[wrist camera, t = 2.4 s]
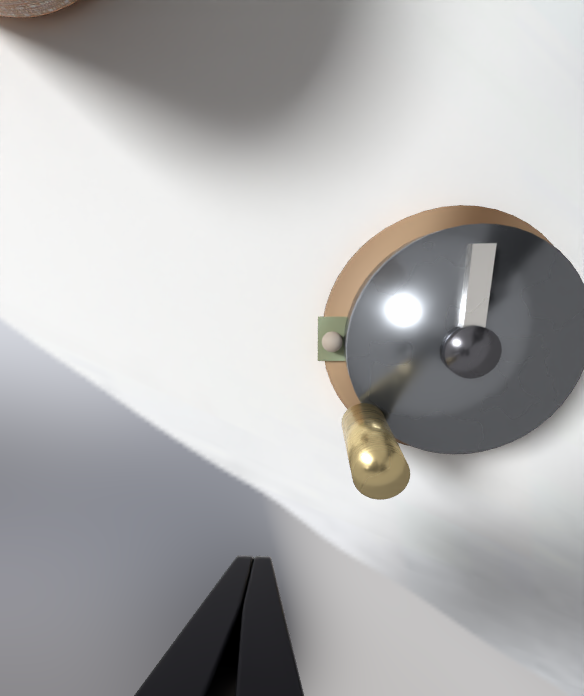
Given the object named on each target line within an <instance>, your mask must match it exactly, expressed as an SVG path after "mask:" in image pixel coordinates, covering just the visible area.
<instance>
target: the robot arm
mask: <svg viewBox="0 0 584 696" xmlns="http://www.w3.org/2000/svg"><path fill="white" fill-rule="evenodd" d="M134 696H304V693H303V689H302V685H301V681H300V677H299V672H298V668H297V664H296V660H295V655H294V651H293V647H292V643H291V639H290V634H289V630H288V626H287V622H286V618H285V614H284V609H283V605H282V601H281V597H280V593H279V589H278V584H277V580H276V576H275V572H274V568H273V563H272V559H271V557H269V556H256V557H255V558H254V557H253V556H241V555H240V556H237V557H236V559H235V560H234V561H233V563H232V564H231V565H230V567H229V568H228V569H227V571H226V572H225V573H224V575H223V576H222V577H221V579H220V580H219V581H218V583H217V584H216V585H215V587H214V588H213V590H212V591H211V592H210V594H209V595H208V596H207V598H206V599H205V600H204V602H203V603H202V604H201V606H200V607H199V609H198V610H197V611H196V613H195V614H194V615H193V617H192V618H191V619H190V621H189V622H188V623H187V625H186V626H185V627H184V629H183V630H182V632H181V633H180V634H179V636H178V637H177V638H176V640H175V641H174V642H173V644H172V645H171V646H170V648H169V649H168V651H167V652H166V653H165V655H164V656H163V657H162V659H161V660H160V661H159V663H158V664H157V665H156V667H155V668H154V670H153V671H152V672H151V674H150V675H149V677H148V678H147V679H146V680H145V682H144V683H143V684H142V686H141V687H140V689H139V690H138V691H137V693H136V694H135V695H134Z"/></svg>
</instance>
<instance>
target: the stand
mask: <svg viewBox="0 0 584 696" xmlns="http://www.w3.org/2000/svg"><path fill="white" fill-rule="evenodd" d="M480 223H484V224H500V225H506V226H511V227H516V228H519V229H522V230H524V231H527V232H530V233H533V234H534V235H536V236H538V237H540V238H542V239H544V240H546V241H547V242H549V241H548V240H547V238H546V237H545V236H544V235H543V234H542V233H540V232H539V231H538V230H536V229H535V228H534V227H532V226H531V225H530V224H528V223H526V222H524V221H523V220H521V219H519V218H517V217H515V216H513V215H510V214H507V213H505V212H502V211H499V210H496V209H491V208H485V207H480V206H463V205H459V206H448V207H440V208H436V209H431V210H427V211H423V212H420V213H418V214H415V215H412V216H409V217H407V218H405V219H403V220H401V221H399V222H397V223H395V224H393V225H391V226H389V227H387V228H385V229H384V230H382V231H381V232H380V233H378V234H377V235H375V236H374V237H372V238H371V239H370V240H369V241H368V242H367V243H365V244H364V245H363V246H362V247H361V248H360V249H359V250H358V251H357V252H356V253H355V254H354V256H353V257H352V258H351V259H350V260H349V261H348V262H347V264H346V265H345V267H344V268H343V270H342V271H341V273H340V274H339V276H338V278H337V280H336V282H335V284H334V286H333V288H332V290H331V292H330V295H329V298H328V301H327V304H326V308H325V312H324V317H318V361H325V365H326V370H327V372H328V375H329V378H330V381H331V384H332V385H333V387H334V389H335V391H336V393H337V395H338V397H339V398H340V400H341V401H342V403H343V404H344V405H345V407H346V408H347V409H349V408H350V407H352V406H354V405H356V404H361V403H360V401H359V399H358V397H357V395H356V393H355V391H354V388H353V385H352V383H351V380H350V377H349V374H348V371H347V368H346V363H345V357H344V342H343V341H344V330H345V324H346V320H347V316H348V312H349V310H350V307H351V304H352V302H353V299H354V297H355V296H356V294H357V292H358V290H359V288H360V286H361V285H362V284H363V282H364V281H365V279H366V278H367V276H368V275H369V274H370V273H371V272H372V271H373V269H374V268H375V267H376V266H377V265H378V264H379V263H380V262H381V261H382V260H384V259H385V258H386V257H387V256H388V255H389V254H391V253H392V252H394V251H395V250H397V249H398V248H400V247H401V246H402V245H404V244H406V243H408V242H410V241H412V240H414V239H416V238H418V237H421V236H424V235H427V234H429V233H432V232H436V231H440V230H444V229H448V228H452V227H457V226H461V225H469V224H480ZM549 243H550V242H549ZM550 244H551V243H550ZM551 245H552V244H551ZM395 439H396V438H395ZM396 441H397V442H398V443H401V444H404V445H408V444H406V443H404V442H402V441H400V440H398V439H396ZM409 446H410V445H409Z"/></svg>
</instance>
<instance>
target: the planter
mask: <svg viewBox="0 0 584 696" xmlns="http://www.w3.org/2000/svg"><path fill="white" fill-rule="evenodd" d="M77 1H78V0H0V16H4V17H13V18H29V17H38V16H43V15H47V14H50V13H54V12H56V11H59V10H61V9H64V8H66V7H68V6H70V5H72V4H74V3H75V2H77Z"/></svg>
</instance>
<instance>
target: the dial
mask: <svg viewBox="0 0 584 696" xmlns="http://www.w3.org/2000/svg"><path fill="white" fill-rule="evenodd" d="M343 342H344V357H345V363H346V368H347V371H348V374H349V377H350V380H351V383H352V385H353V388H354V391H355V393H356V395H357V397H358V399H359V401H360V403H361V404H356V405H354V406H352V407H350V408H349V409H348V410H347V411H346V412H345V414H344V415H343V418H342V429H343V434H344V439H345V444H346V449H347V454H348V459H349V464H350V468H351V473H352V478H353V482H354V485H355V487H356V488H357V489H358V491H359V492H361V493H362V494H363V495H365V496H367V497H369V498H372V499H388V498H392V497H394V496H396V495H398V494H399V493H401V492H402V491H403V490H404V489H405V487H406V486H407V484H408V482H409V479H410V469H409V466H408V464H407V462H406V460H405V458H404V456H403V454H402V452H401V449H400V447H399V445H398V443H397V441H396V439H398V440H400V441H402V442H404V443H406V444H408V445H410V446H413V447H416V448H419V449H422V450H425V451H431V452H436V453H444V454H469V453H475V452H482V451H486V450H490V449H493V448H497V447H500V446H502V445H505V444H508V443H510V442H513V441H514V440H516V439H518V438H520V437H522V436H524V435H526V434H527V433H529V432H531V431H532V430H534V429H535V428H537V427H538V426H539V425H541V424H542V423H543V422H544V421H545V420H547V419H548V418H549V417H550V416H551V415H552V414H553V413H554V412H555V411H556V410H557V409H558V408H559V407H560V406H561V405H562V404H563V402H564V401H565V400H566V398H567V397H568V396H569V394H570V393H571V392H572V390H573V388H574V387H575V385H576V383H577V382H578V380H579V378H580V376H581V373H582V371H583V369H584V284H583V282H582V280H581V278H580V276H579V274H578V272H577V271H576V269H575V268H574V267H573V265H572V264H571V262H570V261H569V260H568V259H567V258H566V257H565V256H564V255H563V254H562V253H561V252H560V251H559V250H558V249H557V248H555V247H554V246H553V245H551V244H550V243H549V242H547V241H546V240H544V239H542V238H540V237H538V236H536V235H534V234H533V233H530V232H527V231H524V230H522V229H519V228H516V227H511V226H506V225H500V224H484V223H480V224H469V225H461V226H457V227H452V228H448V229H444V230H440V231H436V232H432V233H429V234H427V235H424V236H421V237H418V238H416V239H414V240H412V241H410V242H408V243H406V244H404V245H402V246H401V247H400V248H398V249H397V250H395V251H394V252H392V253H391V254H389V255H388V256H387V257H386V258H385V259H384V260H382V261H381V262H380V263H379V264H378V265H377V266H376V267H375V268H374V269H373V271H372V272H371V273H370V274H369V275H368V276H367V278H366V279H365V281H364V282H363V284H362V285H361V286H360V288H359V290H358V292H357V294H356V296H355V297H354V299H353V302H352V304H351V307H350V310H349V312H348V316H347V320H346V324H345V330H344V341H343ZM395 438H396V439H395Z"/></svg>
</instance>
